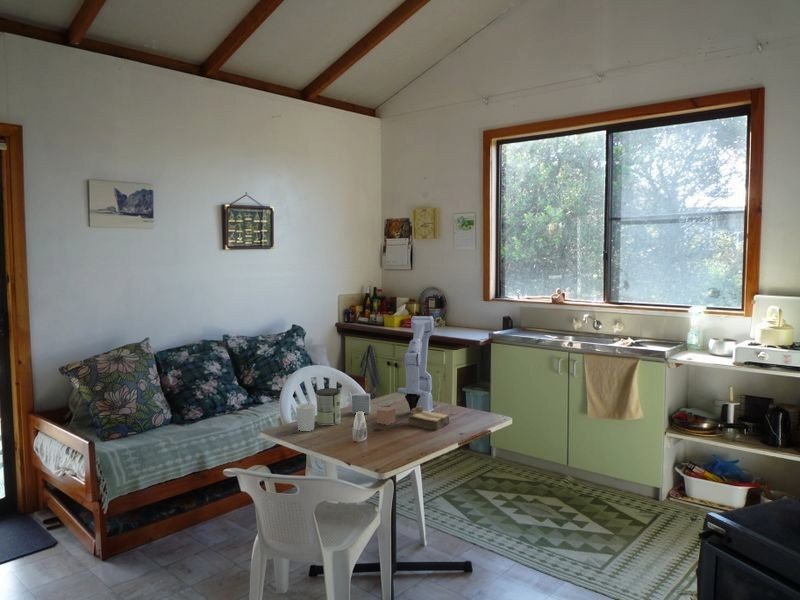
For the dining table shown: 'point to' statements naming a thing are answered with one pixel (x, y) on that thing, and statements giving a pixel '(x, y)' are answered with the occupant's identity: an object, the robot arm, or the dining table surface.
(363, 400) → the medicine box
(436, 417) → the lid
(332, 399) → the coffee can
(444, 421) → the walnut box
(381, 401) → the dining table surface
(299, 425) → the white cup
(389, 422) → the tan cardboard cube
